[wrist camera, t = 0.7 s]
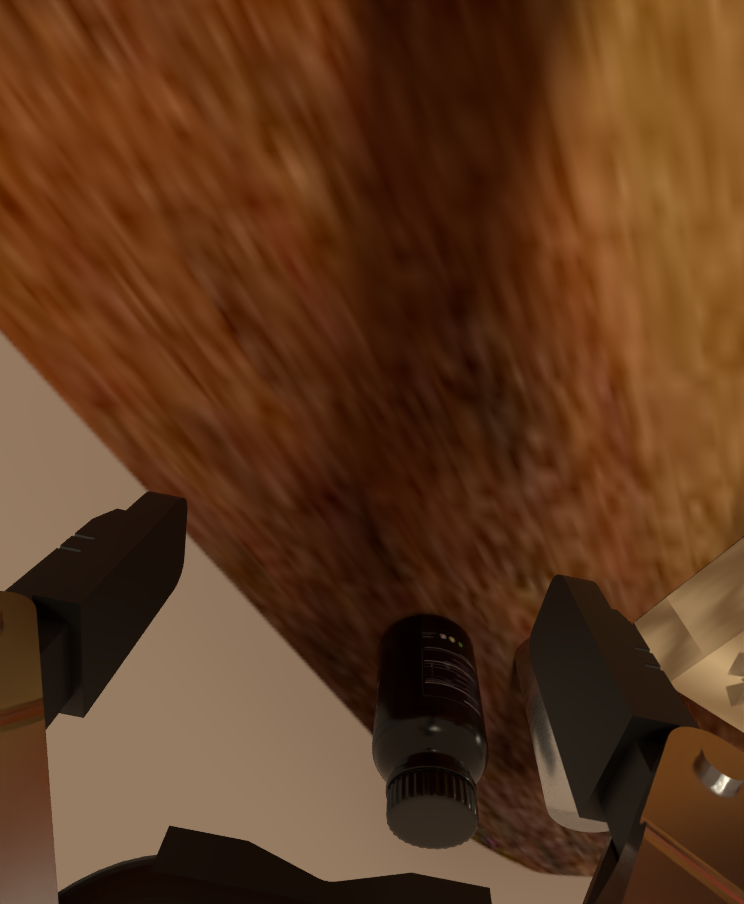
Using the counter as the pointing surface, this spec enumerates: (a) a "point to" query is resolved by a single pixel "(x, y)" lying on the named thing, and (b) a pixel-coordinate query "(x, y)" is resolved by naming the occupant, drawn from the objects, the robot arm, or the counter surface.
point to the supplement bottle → (429, 731)
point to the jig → (704, 636)
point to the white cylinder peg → (549, 752)
